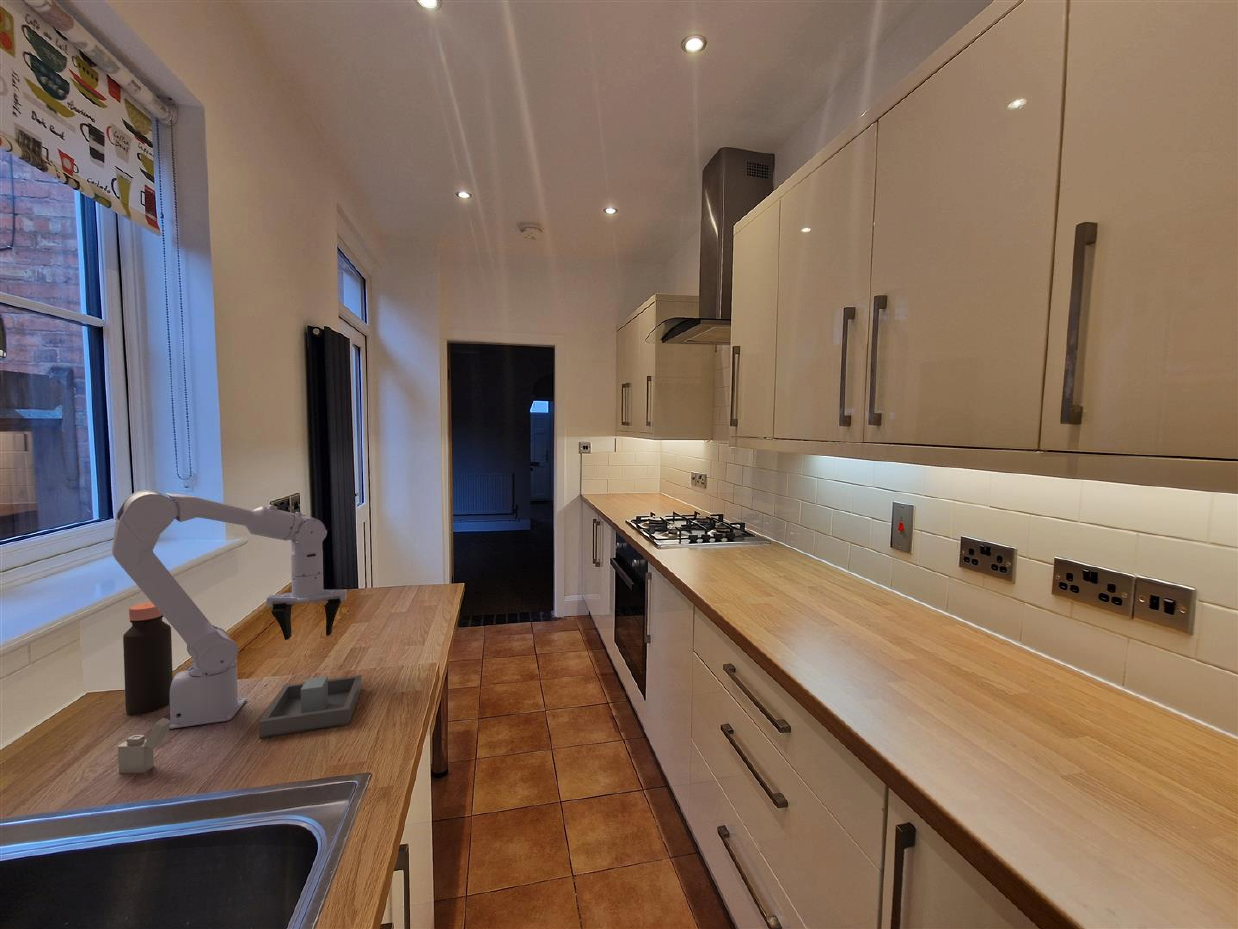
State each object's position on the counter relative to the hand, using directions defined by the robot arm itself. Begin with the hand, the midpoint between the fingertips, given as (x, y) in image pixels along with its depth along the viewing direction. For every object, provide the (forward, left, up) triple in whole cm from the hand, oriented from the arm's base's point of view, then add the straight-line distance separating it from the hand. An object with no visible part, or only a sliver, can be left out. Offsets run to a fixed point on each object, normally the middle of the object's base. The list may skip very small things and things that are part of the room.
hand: (308, 636), depth 107 cm
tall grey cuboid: (+4, -13, -10) cm, 17 cm away
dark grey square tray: (+4, -13, -10) cm, 17 cm away
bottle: (-27, -1, -11) cm, 29 cm away
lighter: (-17, -24, -11) cm, 31 cm away
